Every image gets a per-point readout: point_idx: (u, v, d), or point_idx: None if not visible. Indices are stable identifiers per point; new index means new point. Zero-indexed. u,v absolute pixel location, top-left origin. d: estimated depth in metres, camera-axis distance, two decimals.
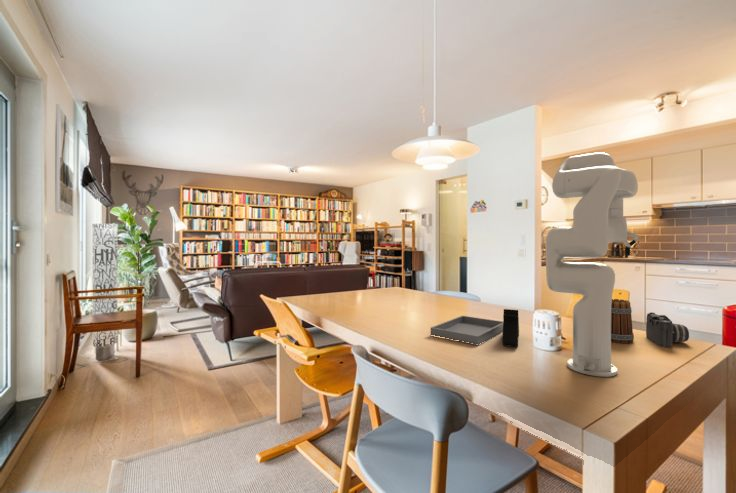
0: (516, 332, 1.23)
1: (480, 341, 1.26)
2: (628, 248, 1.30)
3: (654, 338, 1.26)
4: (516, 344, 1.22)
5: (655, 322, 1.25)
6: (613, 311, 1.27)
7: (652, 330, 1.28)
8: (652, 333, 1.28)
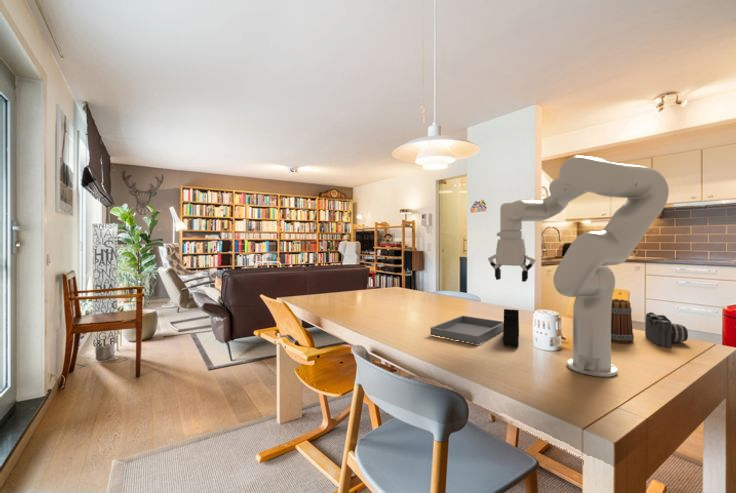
0: (516, 332, 1.23)
1: (480, 341, 1.26)
2: (525, 272, 1.26)
3: (653, 338, 1.26)
4: (517, 344, 1.22)
5: (654, 322, 1.25)
6: (613, 311, 1.27)
7: (651, 330, 1.28)
8: (651, 333, 1.28)
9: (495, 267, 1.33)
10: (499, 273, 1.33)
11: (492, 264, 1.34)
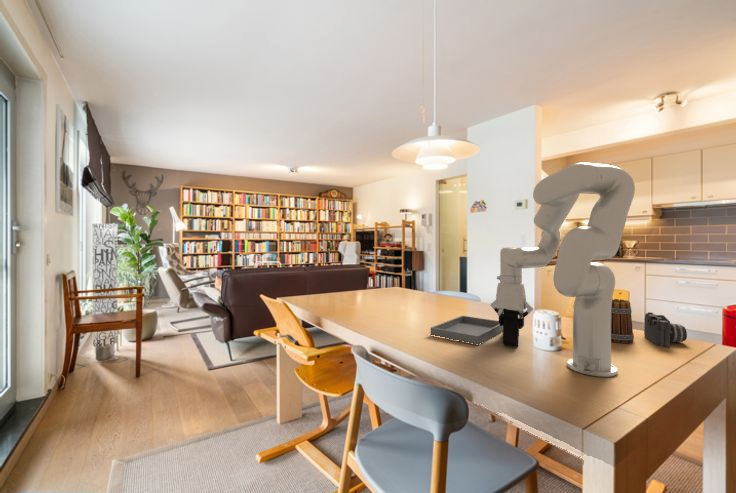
0: (516, 331, 1.23)
1: (480, 341, 1.26)
2: (521, 319, 1.27)
3: (652, 338, 1.26)
4: (517, 343, 1.22)
5: (653, 322, 1.25)
6: (613, 311, 1.27)
7: (650, 330, 1.28)
8: (650, 333, 1.28)
9: (499, 313, 1.32)
10: None
11: (496, 310, 1.33)
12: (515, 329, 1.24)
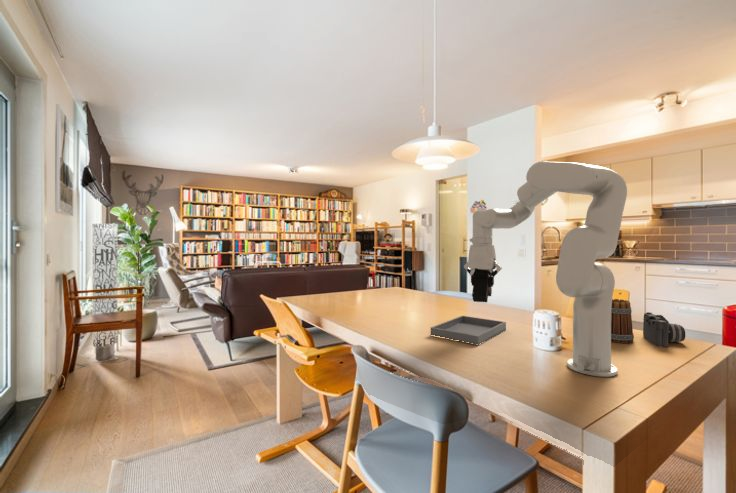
0: (485, 288, 1.30)
1: (480, 341, 1.26)
2: (491, 278, 1.35)
3: (650, 338, 1.27)
4: (485, 299, 1.30)
5: (651, 322, 1.25)
6: (613, 311, 1.27)
7: (649, 330, 1.28)
8: (648, 333, 1.28)
9: (471, 273, 1.40)
10: None
11: (468, 270, 1.41)
12: (484, 286, 1.31)
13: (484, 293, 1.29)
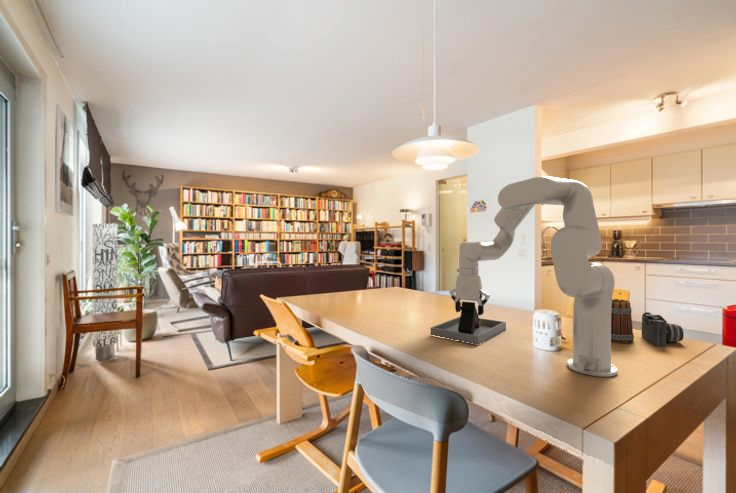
0: (471, 322, 1.34)
1: (480, 341, 1.26)
2: (481, 306, 1.38)
3: (648, 338, 1.27)
4: (471, 333, 1.33)
5: (649, 322, 1.25)
6: (613, 311, 1.27)
7: (647, 330, 1.28)
8: (647, 333, 1.29)
9: (455, 300, 1.44)
10: (459, 306, 1.45)
11: (453, 297, 1.46)
12: (470, 320, 1.35)
13: (470, 328, 1.32)
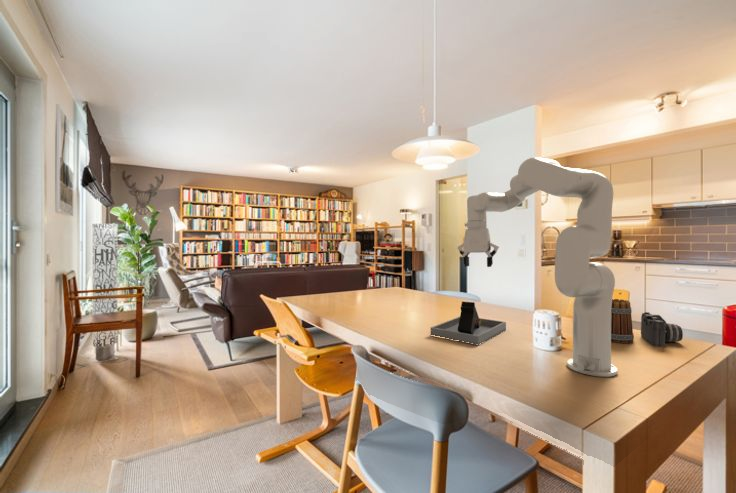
0: (470, 322, 1.34)
1: (480, 341, 1.26)
2: (490, 258, 1.38)
3: (648, 337, 1.27)
4: (470, 333, 1.33)
5: (648, 322, 1.26)
6: (613, 311, 1.27)
7: (646, 330, 1.28)
8: (646, 332, 1.29)
9: (464, 255, 1.45)
10: (467, 260, 1.46)
11: (461, 252, 1.46)
12: (470, 320, 1.35)
13: (469, 327, 1.32)
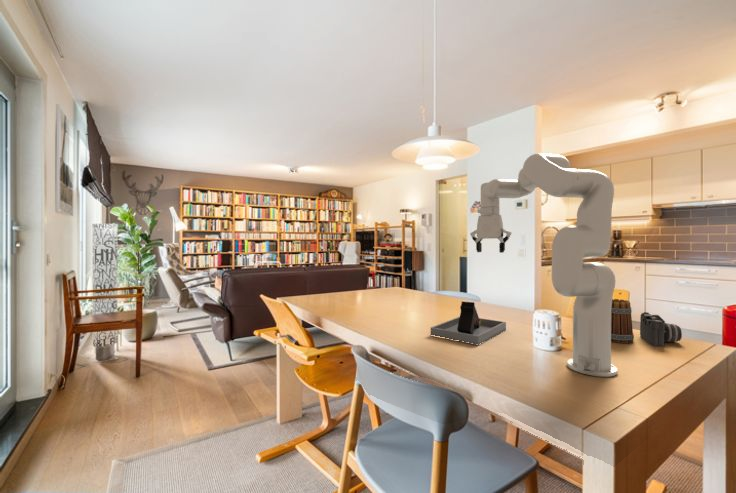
0: (470, 322, 1.34)
1: (480, 341, 1.26)
2: (502, 244, 1.41)
3: (647, 337, 1.27)
4: (470, 333, 1.34)
5: (647, 321, 1.26)
6: (613, 311, 1.27)
7: (645, 330, 1.29)
8: (645, 332, 1.29)
9: (476, 241, 1.48)
10: (480, 246, 1.49)
11: (474, 238, 1.49)
12: (469, 320, 1.35)
13: (469, 327, 1.32)
